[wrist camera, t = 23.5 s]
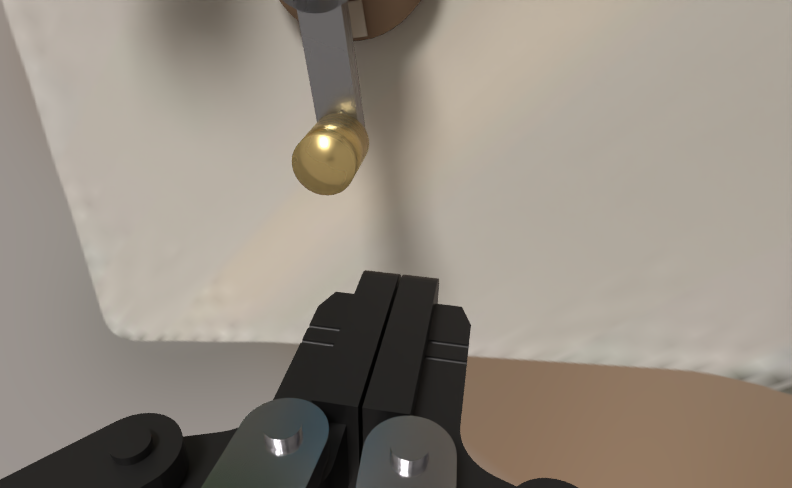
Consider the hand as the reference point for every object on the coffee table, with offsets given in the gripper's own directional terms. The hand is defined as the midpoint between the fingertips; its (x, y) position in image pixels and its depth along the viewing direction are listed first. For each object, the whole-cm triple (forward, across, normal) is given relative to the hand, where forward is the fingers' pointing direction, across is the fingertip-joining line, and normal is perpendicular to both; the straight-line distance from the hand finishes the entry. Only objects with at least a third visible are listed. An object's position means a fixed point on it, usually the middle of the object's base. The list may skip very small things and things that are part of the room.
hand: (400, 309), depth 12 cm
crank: (+17, +6, -1) cm, 18 cm away
